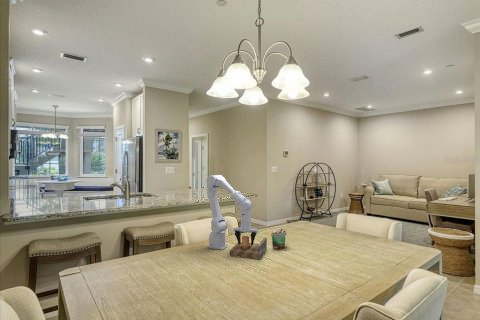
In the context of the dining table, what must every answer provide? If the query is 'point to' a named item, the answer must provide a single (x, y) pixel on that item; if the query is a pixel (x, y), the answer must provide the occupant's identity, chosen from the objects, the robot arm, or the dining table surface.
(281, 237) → the food container
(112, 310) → the dining table surface
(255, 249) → the socket block
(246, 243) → the peg
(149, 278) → the dining table surface
